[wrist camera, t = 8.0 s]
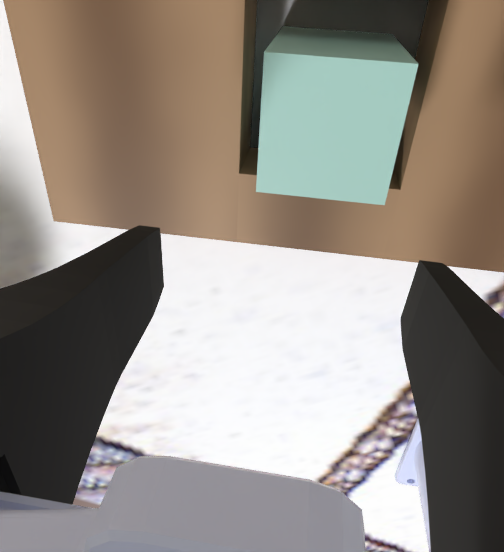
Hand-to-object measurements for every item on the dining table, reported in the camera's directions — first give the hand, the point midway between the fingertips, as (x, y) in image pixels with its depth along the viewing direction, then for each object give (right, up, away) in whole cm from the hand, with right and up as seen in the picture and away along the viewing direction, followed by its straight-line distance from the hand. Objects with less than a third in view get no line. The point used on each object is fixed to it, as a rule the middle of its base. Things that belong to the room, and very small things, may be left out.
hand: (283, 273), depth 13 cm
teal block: (+2, +7, +5) cm, 9 cm away
